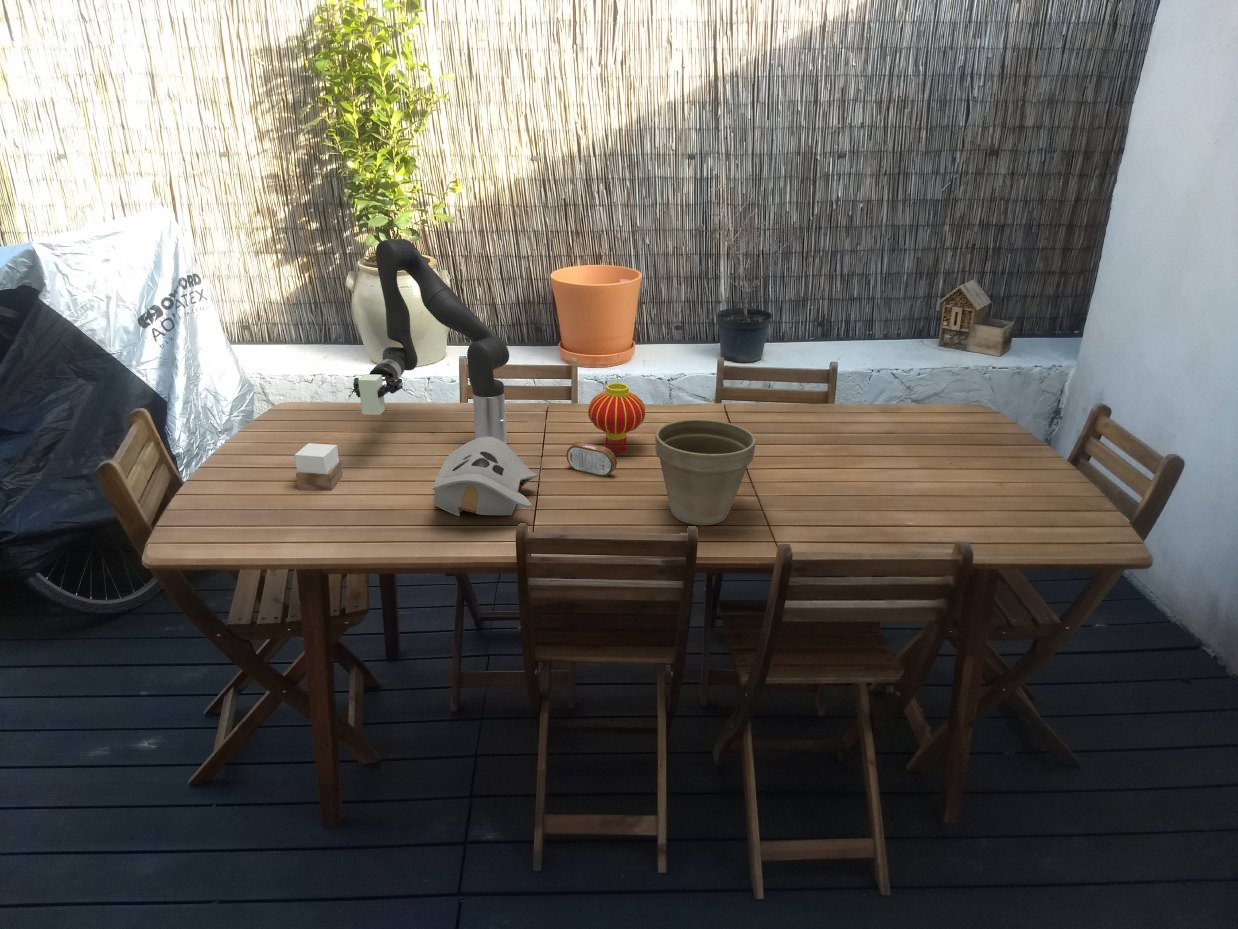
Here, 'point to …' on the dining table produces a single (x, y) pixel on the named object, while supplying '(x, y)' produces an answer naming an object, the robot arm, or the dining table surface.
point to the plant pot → (703, 467)
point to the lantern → (616, 413)
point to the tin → (591, 459)
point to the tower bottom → (320, 479)
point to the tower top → (316, 458)
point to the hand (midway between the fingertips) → (368, 394)
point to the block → (371, 394)
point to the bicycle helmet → (482, 479)
